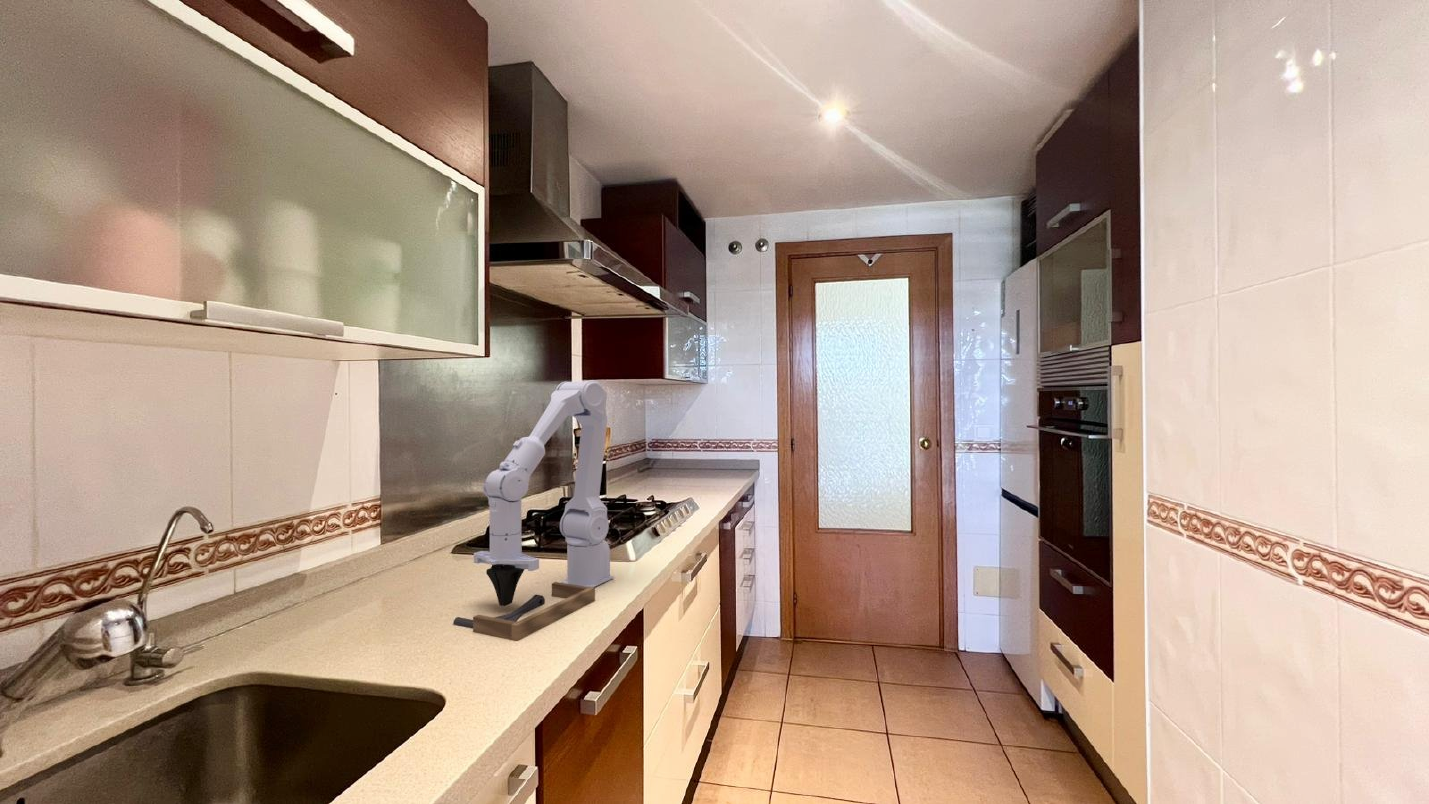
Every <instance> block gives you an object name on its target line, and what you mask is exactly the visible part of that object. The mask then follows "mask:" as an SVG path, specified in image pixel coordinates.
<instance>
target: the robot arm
mask: <svg viewBox="0 0 1429 804" xmlns="http://www.w3.org/2000/svg"><path fill="white" fill-rule="evenodd" d="M607 396H608V392H607V391H606V390H605V389H604V387H603V386H602V384H601V383H600V382H599V381H598V380H594V379H592V380H591V379H590V380H586V381H585V380H583V381H566V380H565V381H562V382H560V383H559V384H558V385H557V386H556V388H555V390H554V391H553V392H552V393H551V396H550V402H549V404H548V405H547V407H546V408H545V410H544V412H543V413H542V415H541V416H540V417H539V420H538V421H537V423H536V425H535V426H534V427H533V430H532V431H531V433H530V434H529V436H524V437H520V438H519V440H515V441H514V443H513V444H512V446H513V448H512V450H511V451H510V452H509V453H508V455H507V456H506V458H505V459H504V460H503V461H501V462H500V463H499V467H498V468H497V469H495V470H492V471H491V472H490V473H489V474H488V476H487V477H486V479H485V484H483V485H482V490H483V491H482V492H483V494H484V495H485V497H487V499H488V506H489V551H487V550H480V551H477V552H474V553H473V564H480V563H481V564H487V565H491V566H490V568H487V569H486V572H485V573H486V575H487V576H488V578H489V580H490V581H491V583H492V586H493V588H494V591H495V593H496V598H497V601H498V602H497V603H498V605H499V606H501V607H507V606H508V605H510V604H513V602H514V601H513V600H514V597H515V593H516V588H517V586H518V584H519V581H520V578H521V577H522V574H523V573H524V572H525V570H527V571H529V572H534V571H536V570H539V569H540V558H537V557H533V556H531V555H528V554H525V553H522V552H523V551H522V549H523V548H522V499H523V497H524V496H525V495H526V494H527V493H528V491H529V481H530V479H531V476H532V474H533V472H534V471H535V470H536V468H537V467H538V465H539V464H540V462H541V460H542V459H543V458H544V457H545V455H546V447H545V445H546V443H547V442H548V441H549V440H550V438H551V437H552V436H553V435H554V434H555V432H556V431H557V429H558V428H559V427H560V426H561V425H562V424H563V422H565V419H566V418H568V417H573V418H575V420H576V421H577V422H578V423H579V425H580V427H581V428H580V438H579V445H578V455H577V465H576V472H575V482H574V490H573V491H574V492H573V497H572V498H571V499H570V500H569V501H568V502H567V503H565V506H564V512H563V514H562V516H561V518H560V521H559V531H560V533H561V534H562V536H563V537H565V541H564V542H565V543H566V544H567V547H566V548H567V549H566V550H567V554H566V555H567V559H566V560H567V565H566V567H567V569H566V571H567V572H566V573H567V574H566V575H567V577H566V578H567V579H566V580H563V581H561V582H559V583H566V584H573V585H579V586H586V587H593V588H596V587H598V586H599V585H602V584H604V583H606V582H608V581H610V580H612V579H613V578H614V575H611V549H610V546H609V543H608V542H607V541H606V540H605V538H606V537H607V534H608V533H609V528H610V527H609V526H610V523H609V519H608V507H607V506H606V504H604V502H603V501H602V500H601V498H600V492H601V483H602V477H603V476H602V473H603V464H604V454H605V446H606V436H607V427H608V426H607V425H608V415H607V409H606V407H607V398H608V397H607Z"/></svg>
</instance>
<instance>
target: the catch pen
mask: <svg viewBox="0 0 1429 804" xmlns="http://www.w3.org/2000/svg"><path fill="white" fill-rule="evenodd" d="M551 596H552V597H556V598H563V599H562V600H560V601H558V602H556V603H554V604H551V605H549V606H547V607H545V608H543V609H541V610H539V611H537V612H535V613H533V614H530V615H528V616H525V617H524V618H522V619H520V620H517V621H516V622H514V621H509V620H504V619H499V618H494V617H492V616H487V615H482V614H476V615H474V616H473V617H472V620H473V629H472V632H473V633H478V634H483V635H488V636H493V637H496V638H497V637H498V638H501V639H502V638H503V639H507V640H512V641H516V642H518V641H520V640H521V639H523V638H526V637H527V636H529V635H531V634H533V633H536V632H537V631H538V630H540V629H542V628H545V627H546V626H549V625H550V624H552V623H555V622H556V621H558V620H560V619H562V618H564V617H566V616H568V615H569V614H572V613H573V612H575V611H577V610H579V609H581V608H583V607H586V606H587V605H590V604H591V603H593V602H595V601H596V587H586V586H579V585H573V584H566V583H560V582H558V581H554V582H552V583H551Z"/></svg>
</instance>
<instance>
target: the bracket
mask: <svg viewBox="0 0 1429 804" xmlns="http://www.w3.org/2000/svg"><path fill="white" fill-rule="evenodd" d="M545 603H546V599H545V597H544V596H543V595H541V594H535V595H533V596H532V597H531V598H530V599H528V600H527V601H526V602H525V603H523V604H522V605H521V606H520V607H518V608H516V609H514V610H513V611H511V612H509V613H506V614H502V615H498V616H495V617H494V618H499V619H504V620H509V621H514V622H518V621H519V618H520V617H522V616H523V615H524V614H527V613H529V612H531V611H533V610H535V609H538V608H540V607H541V606H544V605H545ZM452 624H453V626H459V627H464V628H467V629H472V630H473V619H470V618H466V617H462V616H461V617H459V616H456V617H455V618H454V620H453V623H452Z"/></svg>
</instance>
